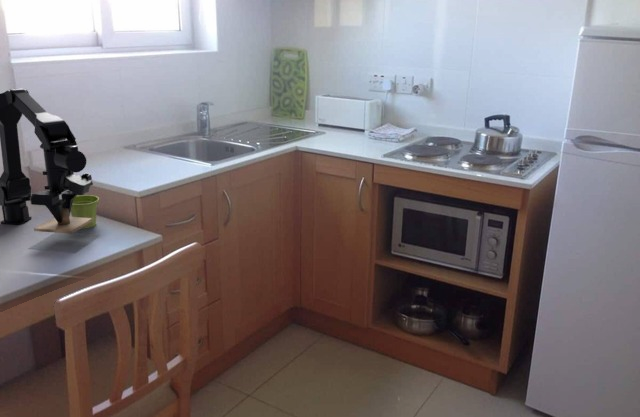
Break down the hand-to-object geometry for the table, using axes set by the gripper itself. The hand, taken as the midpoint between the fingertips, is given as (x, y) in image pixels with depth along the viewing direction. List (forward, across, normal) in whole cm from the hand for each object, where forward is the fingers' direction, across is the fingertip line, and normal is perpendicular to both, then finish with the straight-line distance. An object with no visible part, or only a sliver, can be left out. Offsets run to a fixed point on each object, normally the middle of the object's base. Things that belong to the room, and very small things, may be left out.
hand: (63, 220), depth 162 cm
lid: (+2, 0, 0) cm, 2 cm away
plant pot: (+7, +14, +2) cm, 16 cm away
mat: (+7, 0, 0) cm, 7 cm away
